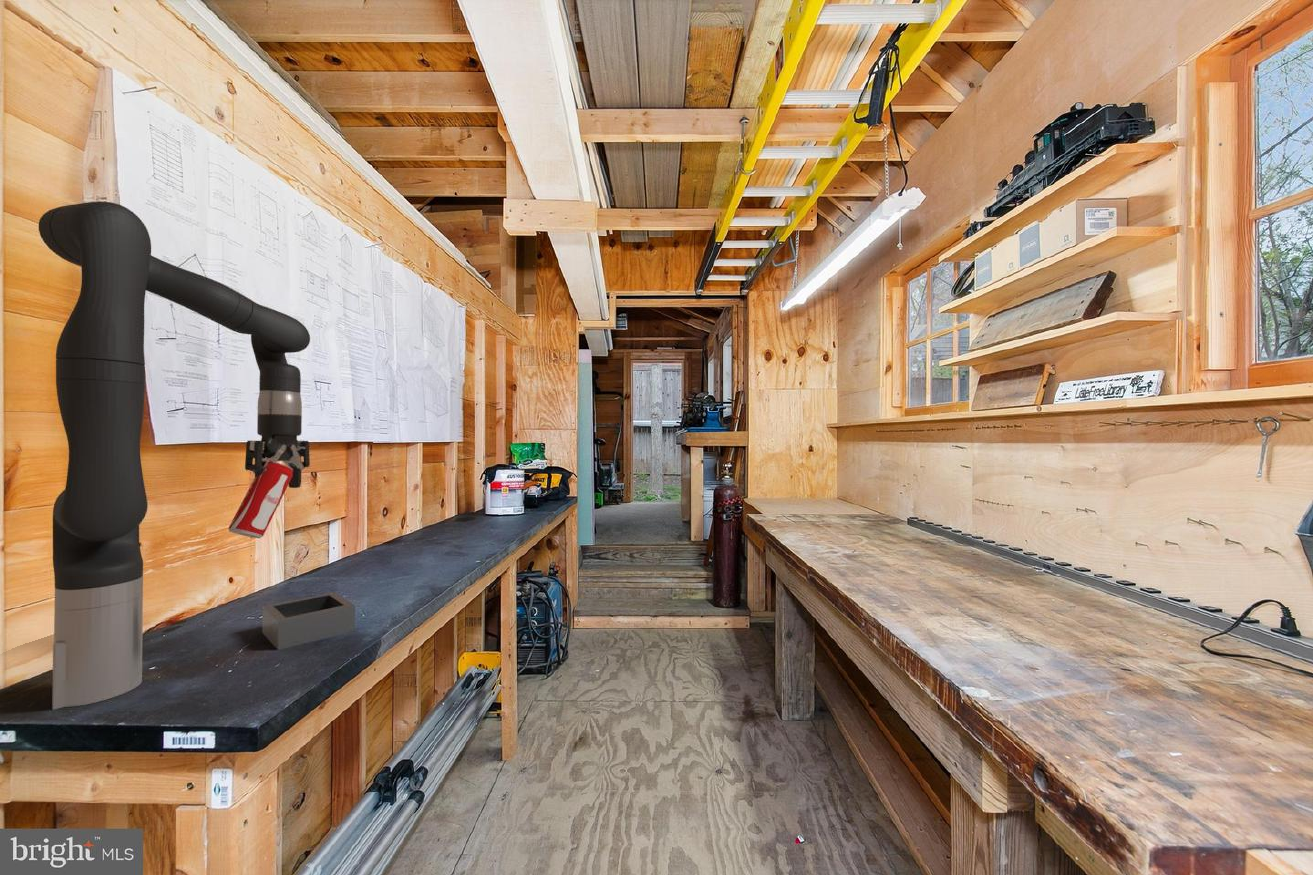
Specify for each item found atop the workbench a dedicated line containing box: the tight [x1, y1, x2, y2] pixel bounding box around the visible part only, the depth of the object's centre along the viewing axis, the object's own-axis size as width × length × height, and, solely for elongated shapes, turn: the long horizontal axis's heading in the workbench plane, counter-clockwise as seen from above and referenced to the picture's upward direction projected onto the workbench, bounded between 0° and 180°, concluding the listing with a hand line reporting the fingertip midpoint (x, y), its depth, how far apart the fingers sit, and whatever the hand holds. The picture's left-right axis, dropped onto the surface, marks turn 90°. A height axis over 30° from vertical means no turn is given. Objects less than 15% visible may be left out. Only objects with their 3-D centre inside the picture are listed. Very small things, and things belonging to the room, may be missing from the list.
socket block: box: [261, 591, 356, 651], centre depth 104 cm, size 13×13×6 cm
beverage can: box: [228, 462, 293, 539], centre depth 102 cm, size 6×6×15 cm
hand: (279, 489), depth 106 cm, fingers open, 8 cm apart
